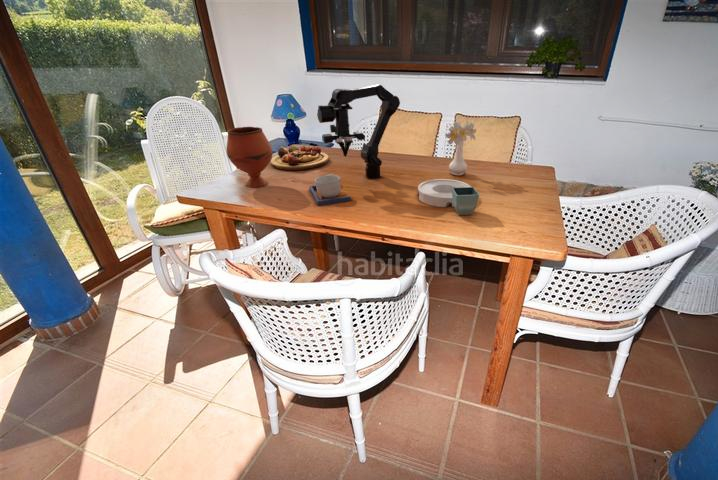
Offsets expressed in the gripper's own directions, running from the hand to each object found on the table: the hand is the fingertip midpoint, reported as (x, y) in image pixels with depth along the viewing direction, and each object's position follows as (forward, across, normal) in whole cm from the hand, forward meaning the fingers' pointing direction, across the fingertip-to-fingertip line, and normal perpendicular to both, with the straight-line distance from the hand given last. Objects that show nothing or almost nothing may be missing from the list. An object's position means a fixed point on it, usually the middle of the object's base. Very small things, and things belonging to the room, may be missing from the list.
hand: (345, 156), depth 166 cm
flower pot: (+12, -33, +54) cm, 65 cm away
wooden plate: (+12, +16, -41) cm, 46 cm away
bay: (+12, +11, +15) cm, 22 cm away
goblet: (+12, +41, -12) cm, 44 cm away
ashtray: (+12, -34, +36) cm, 51 cm away
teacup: (+12, +11, +15) cm, 22 cm away
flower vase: (+12, -55, +11) cm, 57 cm away
